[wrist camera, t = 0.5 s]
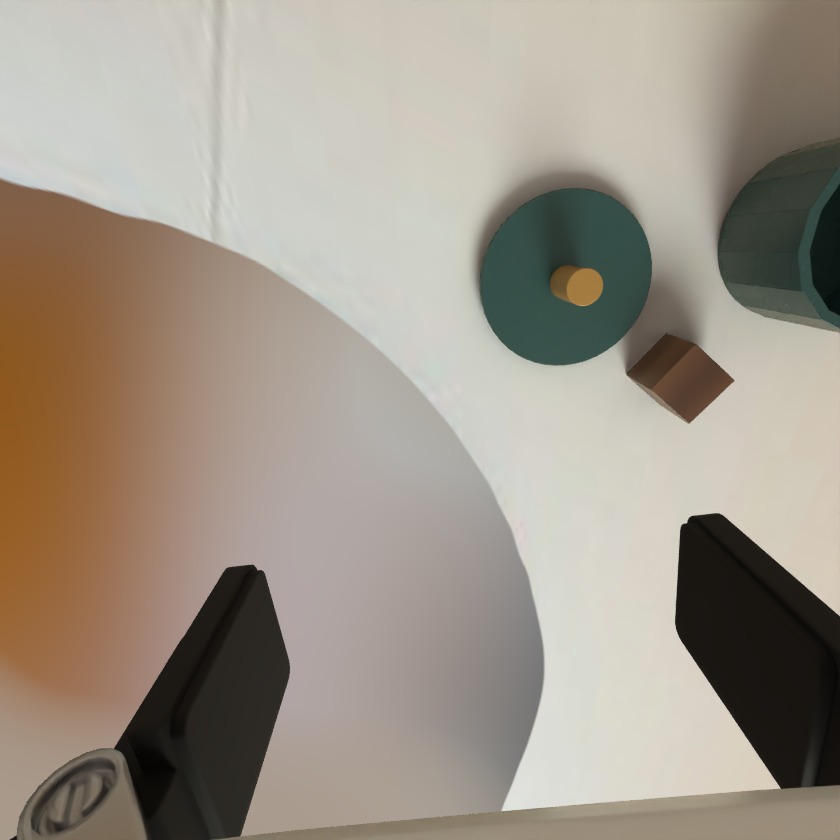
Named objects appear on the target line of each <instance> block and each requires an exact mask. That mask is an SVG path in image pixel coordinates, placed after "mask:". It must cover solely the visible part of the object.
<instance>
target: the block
mask: <svg viewBox="0 0 840 840" xmlns="http://www.w3.org/2000/svg"><path fill="white" fill-rule="evenodd" d="M627 376H628V377H629V378H630V379H631V380H633V381H634V382H635V383H636V384H637V385H638V386H639V387H641V388H642V389H643V390H644V391H645V392H646V393H647V394H649V395H650V396H651V397H652V398H653V399H654V400H655V401H657V402H658V403H659V404H660V405H661V406H662V407H664V408H666V409H667V410H669V411H670V412H672V413H673V414H675V415H676V416H678V417H679V418H681V419H682V420H684V421H685V422H687V423H688V424H689V423H690V422H691V421H693V420H694V419H695V418H696V417H697V416H698V415H699V414H700V413H701V412H702V411H703V410H704V409H705V408H706V407H707V406H708V405H709V404H710V403H711V402H713V401H714V400H715V399H716V398H717V397H718V396H719V395H720V394H721V393H722V392H723V391H724V390H725V389H726V388H727V387H728V386H729V385H730V384H731V383H733V382H734V379H733V378H732V377H731V376H729V375H728V374H727V373H726V372H725V371H724V370H723V369H722V368H721V367H720V366H719V365H718V364H717V363H716V362H715V361H713V360H712V359H711V358H710V357H709V356H708V355H707V354H706V353H705V352H704V351H703V350H702V349H701V348H700V347H699V346H698V345H696V344H694V343H692V342H689V341H686V340H683V339H680V338H678V337H675V336H672V335H669V334H665V335H664V336H663V337H662V338H661V339H660V341H659V342H658V343H657V344H656V345H655V346H654V347H653V348H652V349H651V350H650V351H649V352H648V353H647V354H646V355H645V356H644V357H643V358H642V359H641V360H640V361H639V362H638V363H637V364H636V365H635V366H634V367H633V368H632V369H631V370H630V371H629V373H628V374H627Z"/></svg>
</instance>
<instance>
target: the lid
mask: <svg viewBox="0 0 840 840" xmlns="http://www.w3.org/2000/svg"><path fill="white" fill-rule="evenodd" d="M651 275H652V261H651V254H650V248H649V245H648V241H647V238H646V236H645V233H644V231H643V229H642V227H641V226H640V224H639V222H638V221H637V219H636V218H635V217H634V216H633V214H632V213H631V212H630V211H629V210H628V209H627V208H626V207H625V206H623V205H622V204H621V203H620V202H618V201H616V200H615V199H613V198H612V197H610V196H607V195H605V194H603V193H600V192H596V191H593V190H588V189H578V188H576V189H563V190H557V191H553V192H550V193H547V194H544V195H541V196H539V197H537V198H535V199H533V200H531V201H529V202H527V203H526V204H524V205H523V206H521V207H520V208H519V209H517V210H516V211H515V212H514V213H513V214H511V215H510V216H509V217H508V219H507V220H506V221H505V222H504V223H503V224H502V225H501V227H500V228H499V229H498V231H497V232H496V234H495V235H494V237H493V239H492V241H491V243H490V244H489V247H488V249H487V252H486V254H485V257H484V261H483V265H482V269H481V276H480V295H481V302H482V306H483V310H484V313H485V316H486V318H487V321H488V323H489V325H490V326H491V328H492V330H493V332H494V333H495V334H496V336H497V337H498V338H499V339H500V341H501V342H502V343H503V344H504V345H506V346H507V347H508V348H509V349H510V350H512V351H513V352H514V353H516V354H517V355H519V356H521V357H523V358H525V359H527V360H530V361H532V362H535V363H540V364H544V365H554V366H558V365H570V364H576V363H579V362H583V361H586V360H589V359H591V358H593V357H596V356H598V355H599V354H601V353H603V352H605V351H606V350H608V349H609V348H610V347H612V346H613V345H614V344H616V343H617V342H618V341H619V340H620V339H621V338H622V337H623V336H624V335H625V334H626V333H627V332H628V331H629V329H630V328H631V327H632V325H633V324H634V323H635V321H636V320H637V318H638V316H639V314H640V312H641V311H642V309H643V307H644V304H645V301H646V299H647V296H648V292H649V288H650V283H651Z"/></svg>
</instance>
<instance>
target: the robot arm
mask: <svg viewBox="0 0 840 840" xmlns="http://www.w3.org/2000/svg"><path fill="white" fill-rule="evenodd" d="M675 625H676V630H677V633H678V635H679V638H680V639H681V641H682V643H683V644H684V646H685V647H686V649H687V650H688V652H689V653H690V654H691V656H692V657H693V659H694V660H695V662H696V663H697V665H698V666H699V668H700V669H701V671H702V672H703V674H704V675H705V677H706V678H707V680H708V681H709V683H710V684H711V686H712V687H713V689H714V690H715V692H716V693H717V695H718V696H719V697H720V699H721V700H722V702H723V703H724V705H725V706H726V708H727V709H728V711H729V712H730V714H731V715H732V717H733V718H734V720H735V721H736V723H737V724H738V726H739V727H740V729H741V730H742V732H743V733H744V735H745V736H746V737H747V739H748V740H749V742H750V743H751V745H752V746H753V748H754V749H755V751H756V752H757V754H758V755H759V757H760V758H761V760H762V761H763V763H764V764H765V766H766V767H767V769H768V770H769V772H770V773H771V775H772V776H773V778H774V779H775V780H776V782H777V783H778V785H779V786H780V788H781V789H772V790H755V791H742V792H730V793H717V794H705V795H693V796H680V797H668V798H656V799H643V800H631V801H619V802H606V803H595V804H583V805H571V806H560V807H548V808H537V809H525V810H513V811H502V812H492V813H481V814H468V815H457V816H446V817H435V818H423V819H413V820H402V821H391V822H381V823H370V824H360V825H348V826H338V827H327V828H317V829H306V830H295V831H287V832H277V833H268V834H259V835H251V836H242V837H240V835H241V833H242V829H243V826H244V823H245V820H246V816H247V813H248V810H249V807H250V803H251V800H252V797H253V794H254V790H255V787H256V784H257V781H258V777H259V774H260V771H261V767H262V764H263V761H264V758H265V755H266V751H267V748H268V745H269V741H270V738H271V735H272V732H273V728H274V725H275V722H276V719H277V715H278V712H279V709H280V705H281V702H282V699H283V696H284V692H285V689H286V686H287V683H288V679H289V674H290V665H289V664H290V663H289V659H288V655H287V652H286V648H285V644H284V641H283V637H282V633H281V630H280V626H279V623H278V619H277V615H276V612H275V609H274V605H273V601H272V598H271V594H270V590H269V587H268V583H267V580H266V576H265V573H264V572H263V571H262V570H258V571H257V568H256V567H255V566H254V565H244V566H237V567H236V566H235V567H229V568H226V569H225V571H224V572H223V574H222V576H221V577H220V579H219V580H218V582H217V584H216V585H215V587H214V589H213V590H212V592H211V593H210V595H209V597H208V598H207V600H206V601H205V603H204V605H203V606H202V608H201V610H200V611H199V613H198V615H197V616H196V618H195V619H194V621H193V623H192V624H191V626H190V628H189V629H188V631H187V633H186V634H185V636H184V637H183V638H182V639H181V641H180V642H179V644H178V645H177V647H176V649H175V650H174V652H173V654H172V655H171V657H170V658H169V660H168V662H167V663H166V665H165V667H164V668H163V670H162V672H161V673H160V675H159V676H158V678H157V680H156V681H155V683H154V684H153V686H152V688H151V689H150V691H149V693H148V694H147V696H146V698H145V699H144V701H143V702H142V704H141V705H140V707H139V709H138V710H137V712H136V714H135V715H134V717H133V718H132V720H131V722H130V723H129V725H128V727H127V728H126V730H125V731H124V733H123V735H122V736H121V738H120V740H119V741H118V743H117V745H116V746H115V748H114V749H112V748H107V749H106V748H103V749H97V750H93V751H90V752H86V753H85V754H82V755H80V756H78V757H76V758H74V759H72V760H70V761H69V762H68V763H66V764H65V765H63V766H62V767H60V768H59V769H58V770H56V771H55V772H54V773H52V774H51V775H50V777H48V778H47V779H46V780H45V781H44V782H43V783H42V784H41V785H40V786H39V787H38V788H37V790H36V791H35V792H34V793H33V795H32V796H31V797H30V799H29V800H28V801H27V803H26V805H25V807H24V809H23V811H22V813H21V815H20V817H19V822H18V827H17V835H16V836H15V837H13V838H12V839H10V840H840V616H839V615H838V614H836V613H835V612H834V611H833V610H832V609H831V608H829V607H828V606H827V605H826V604H825V603H824V602H823V601H821V600H820V599H819V598H818V597H817V596H816V595H814V594H813V593H812V592H811V591H810V590H809V589H807V588H806V587H805V586H804V585H803V584H802V583H801V582H799V581H798V580H797V579H796V578H795V577H794V576H792V575H791V574H790V573H789V572H788V571H787V570H786V569H784V568H783V567H782V566H781V565H780V564H779V563H777V562H776V561H775V560H774V559H773V558H772V557H771V556H769V555H768V554H767V553H766V552H765V551H764V550H762V549H761V548H760V547H759V546H758V545H757V544H755V543H754V542H753V541H752V540H751V539H750V538H749V537H747V536H746V535H745V534H744V533H743V532H742V531H740V530H739V529H738V528H737V527H736V526H735V525H734V524H732V523H731V522H730V521H729V520H728V519H727V518H725V517H724V516H723V515H721V514H718V513H715V514H706V515H697V516H691V517H689V519H688V522H687V523H686V524H683V525H682V526H681V529H680V545H679V562H678V580H677V598H676V615H675Z"/></svg>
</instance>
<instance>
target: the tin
mask: <svg viewBox="0 0 840 840" xmlns="http://www.w3.org/2000/svg"><path fill="white" fill-rule="evenodd" d="M718 261H719V268H720V272H721V276H722V279H723V281H724V284H725V286H726V287H727V289H728V291H729V293H730V294H731V295H732V296H733V297H734V299H735V300H736V301H737V302H739V303H740V304H741V305H742V306H744V307H745V308H747V309H749V310H750V311H753V312H755V313H758V314H760V315H762V316H764V317H767V318H772V319H777V320H782V321H786V322H791V323H796V324H801V325H806V326H810V327H815V328H820V329H825V330H829V331H834V332H839V333H840V138H836V139H832V140H828V141H824V142H820V143H816V144H812V145H810V146H807V147H805V148H802V149H799V150H796V151H793V152H790V153H788V154H786V155H784V156H781V157H779V158H777V159H776V160H774V161H773V162H771V163H770V164H768V165H767V166H765V167H764V168H763V169H762V170H760V171H759V172H758V173H757V174H756V175H755V176H754V177H753V178H752V179H751V180H750V181H749V182H748V183H747V184H746V185H745V186H744V188H743V189H742V190H741V191H740V193H739V194H738V196H737V197H736V199H735V200H734V202H733V204H732V205H731V207H730V209H729V211H728V213H727V216H726V218H725V220H724V223H723V226H722V230H721V233H720V239H719V245H718Z"/></svg>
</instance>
